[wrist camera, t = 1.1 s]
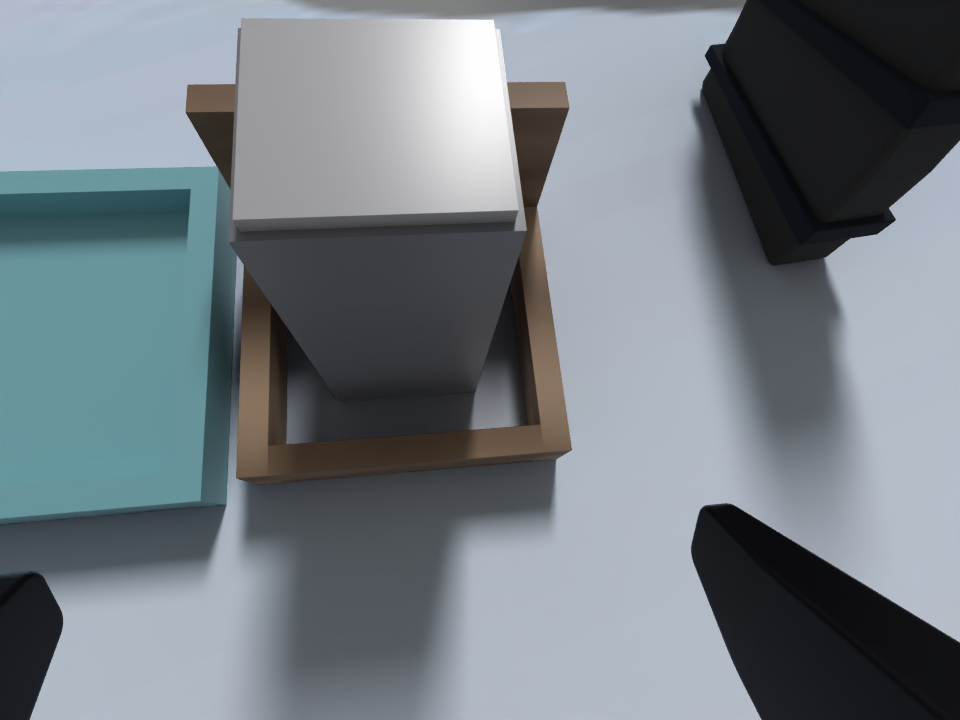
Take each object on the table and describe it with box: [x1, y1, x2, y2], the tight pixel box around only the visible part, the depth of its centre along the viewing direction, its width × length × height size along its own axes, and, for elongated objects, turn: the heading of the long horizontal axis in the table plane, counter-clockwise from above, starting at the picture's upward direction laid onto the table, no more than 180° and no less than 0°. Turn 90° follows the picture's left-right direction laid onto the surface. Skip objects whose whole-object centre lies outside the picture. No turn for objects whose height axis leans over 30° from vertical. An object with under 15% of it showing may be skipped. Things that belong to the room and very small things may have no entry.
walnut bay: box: [186, 82, 572, 485], centre depth 19 cm, size 11×12×8 cm
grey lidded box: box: [228, 18, 527, 402], centre depth 17 cm, size 5×6×13 cm
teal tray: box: [0, 167, 236, 525], centre depth 20 cm, size 13×14×2 cm
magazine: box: [702, 0, 960, 265], centre depth 22 cm, size 4×13×15 cm, turn 11°
